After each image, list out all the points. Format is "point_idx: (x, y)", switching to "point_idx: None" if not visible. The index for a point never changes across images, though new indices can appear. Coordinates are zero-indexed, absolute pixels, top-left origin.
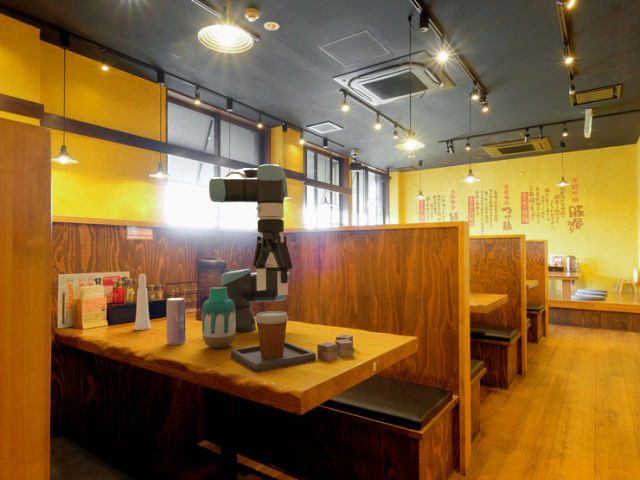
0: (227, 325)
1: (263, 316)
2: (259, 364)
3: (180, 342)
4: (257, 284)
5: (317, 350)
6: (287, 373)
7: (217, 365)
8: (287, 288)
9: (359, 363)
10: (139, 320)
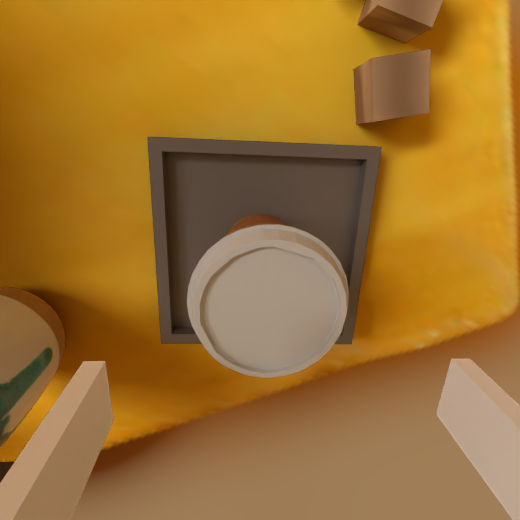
0: (34, 364)
1: (304, 367)
2: (352, 336)
3: None
4: (88, 465)
5: (365, 122)
6: (406, 278)
7: (225, 382)
8: (502, 391)
9: (506, 43)
10: None
